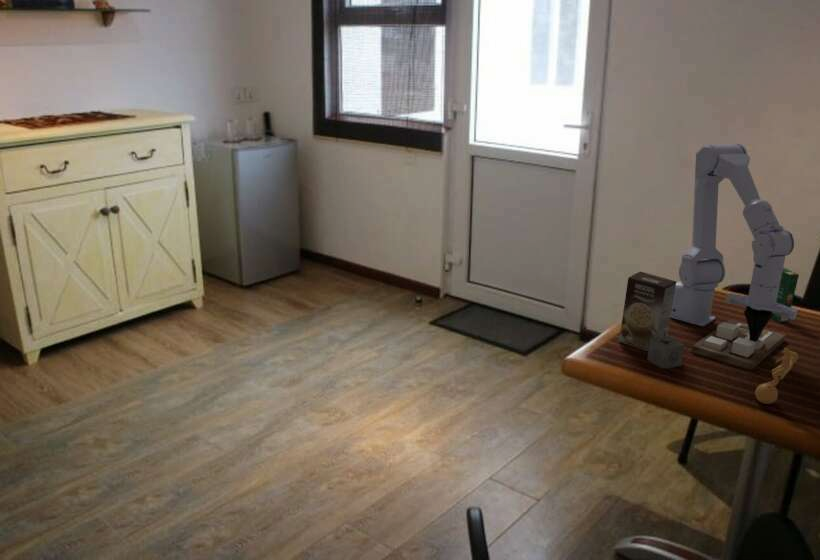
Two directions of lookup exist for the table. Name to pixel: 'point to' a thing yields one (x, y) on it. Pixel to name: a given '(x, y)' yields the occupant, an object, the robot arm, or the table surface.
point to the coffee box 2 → (786, 291)
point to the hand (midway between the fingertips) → (754, 340)
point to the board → (726, 356)
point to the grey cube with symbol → (665, 352)
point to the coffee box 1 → (646, 309)
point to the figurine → (776, 378)
